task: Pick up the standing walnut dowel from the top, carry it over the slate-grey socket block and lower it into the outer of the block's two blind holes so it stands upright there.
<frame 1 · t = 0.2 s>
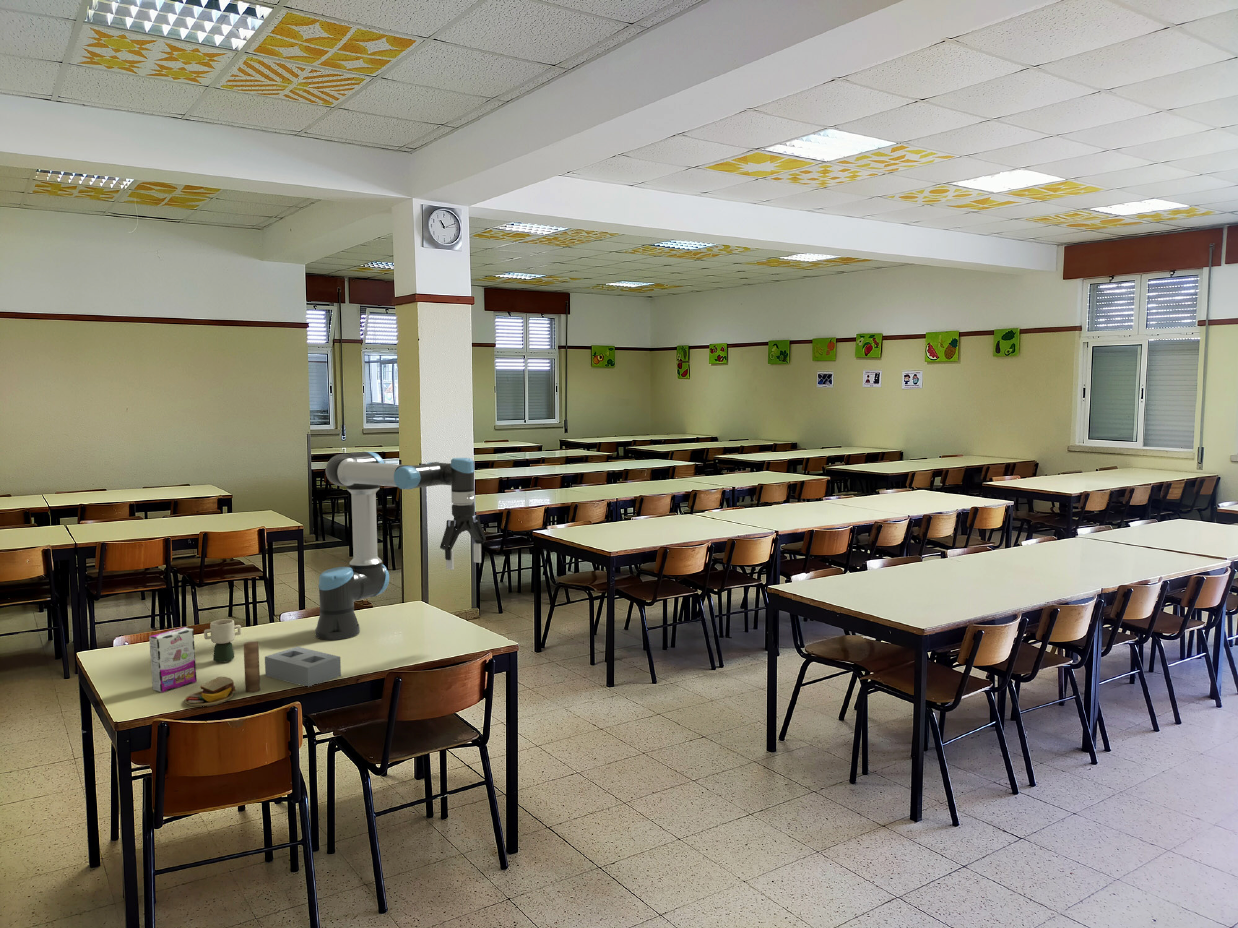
hand: (464, 565, 291), 28 cm above the table, tool pointing down, fingers open, 13 cm apart
cream green trophy cup: (224, 661, 278), on the table
socket block: (303, 675, 263), on the table
candy bar box: (174, 686, 254), on the table
walnut dowel: (252, 690, 251), on the table
toy sandwich meal: (210, 700, 244), on the table
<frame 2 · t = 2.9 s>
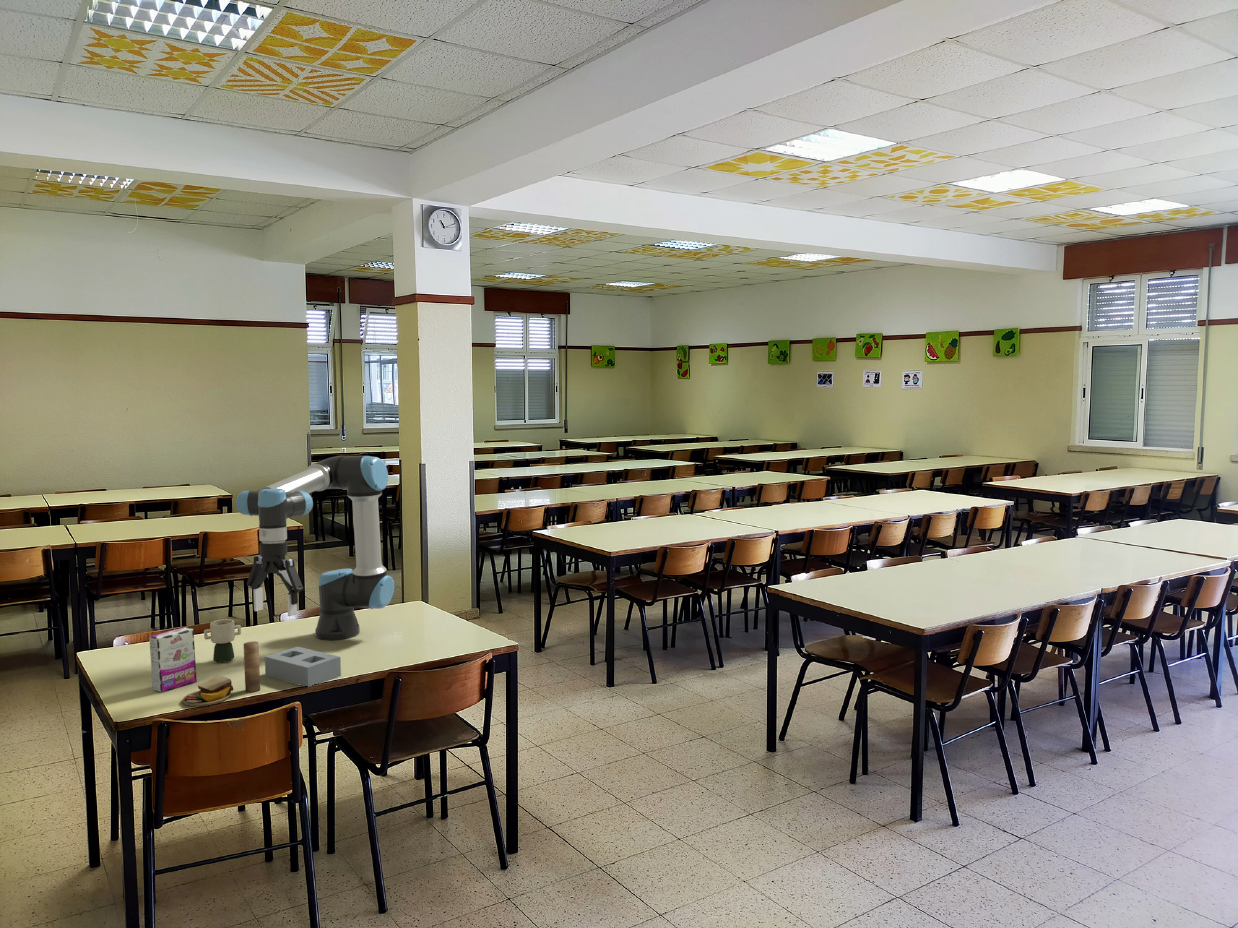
hand: (275, 612, 253), 22 cm above the table, tool pointing down, fingers open, 13 cm apart
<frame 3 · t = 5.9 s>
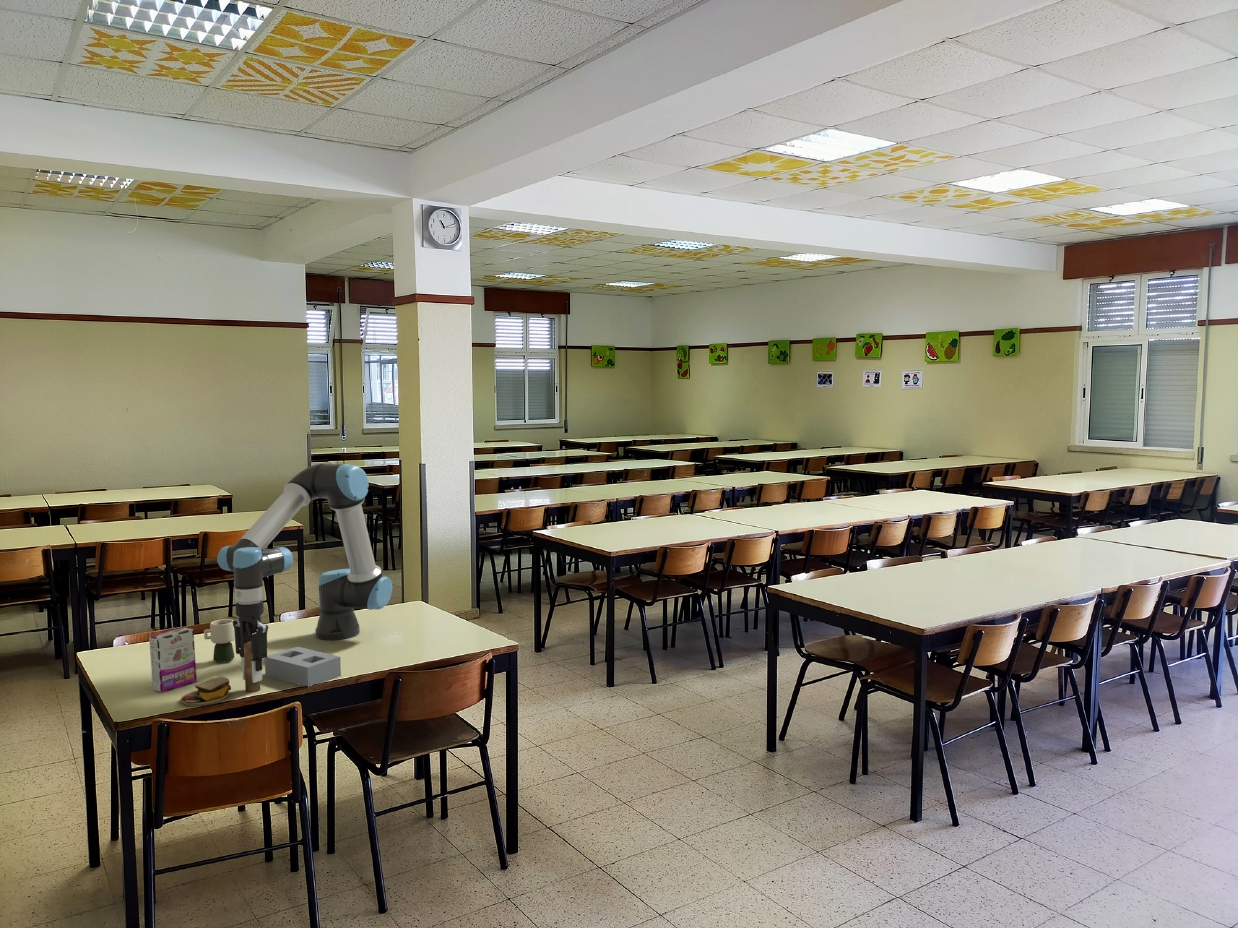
hand: (252, 679, 250), 3 cm above the table, tool pointing down, fingers closed on walnut dowel, 4 cm apart
walnut dowel: (253, 689, 251), on the table, touching gripper
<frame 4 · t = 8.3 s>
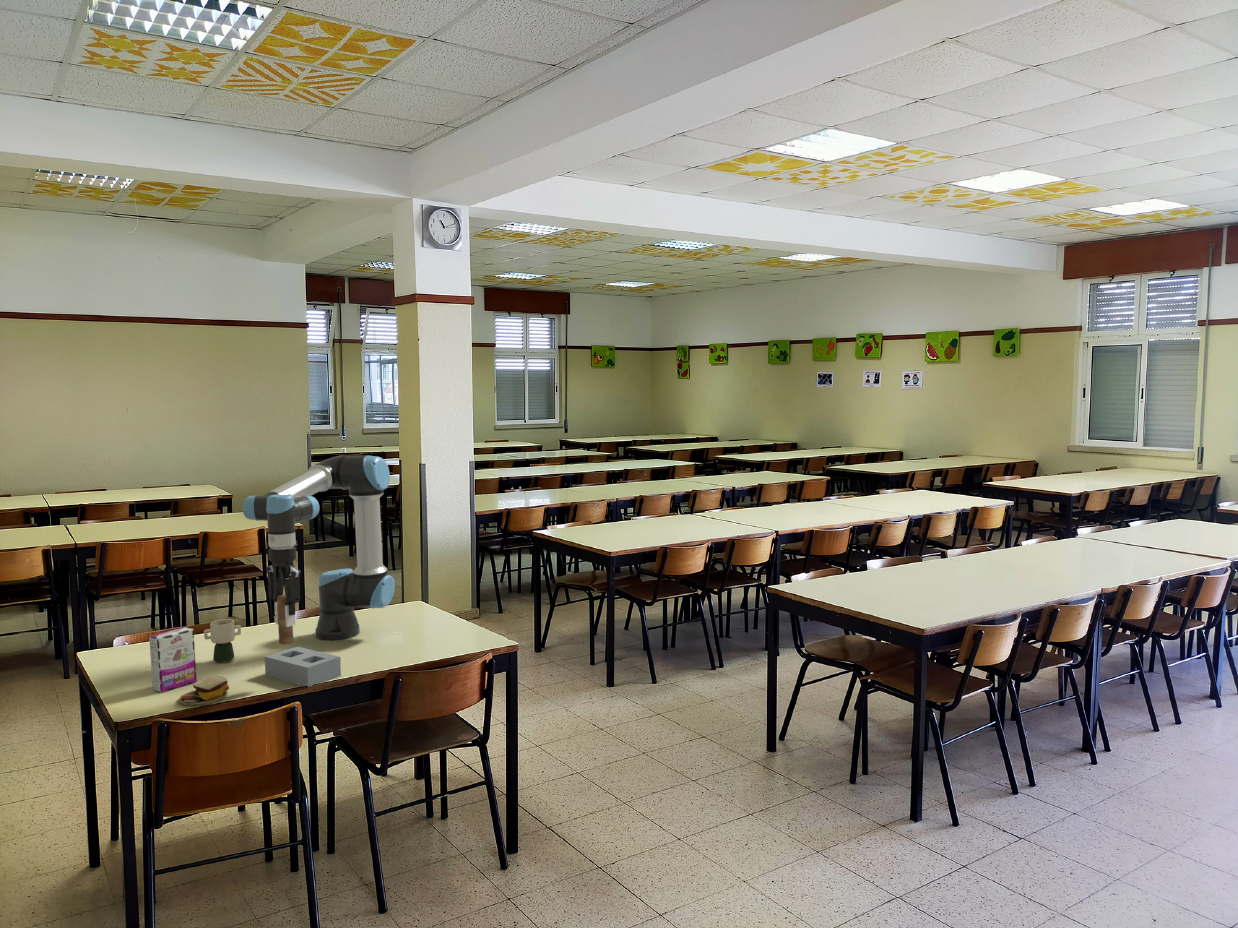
hand: (285, 624, 255), 18 cm above the table, tool pointing down, fingers closed on walnut dowel, 4 cm apart
walnut dowel: (286, 642, 255), point 13 cm above the table, touching gripper
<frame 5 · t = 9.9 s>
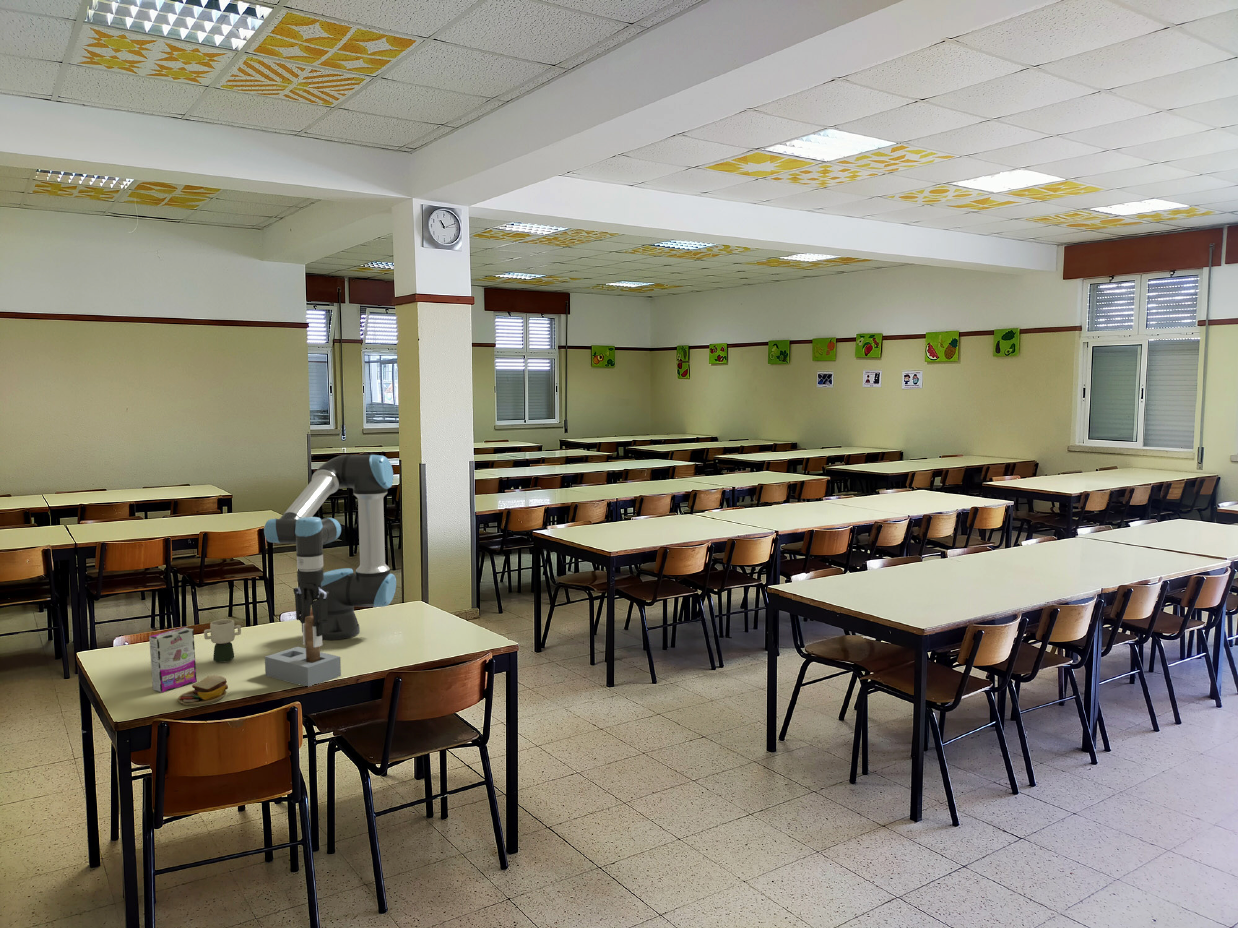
hand: (312, 644, 260), 11 cm above the table, tool pointing down, fingers closed on walnut dowel, 4 cm apart
walnut dowel: (313, 662, 260), point 5 cm above the table, touching gripper
when the fingers open (7 cm above the table, at t = 10.8 s): walnut dowel stays where it is, resting on socket block.
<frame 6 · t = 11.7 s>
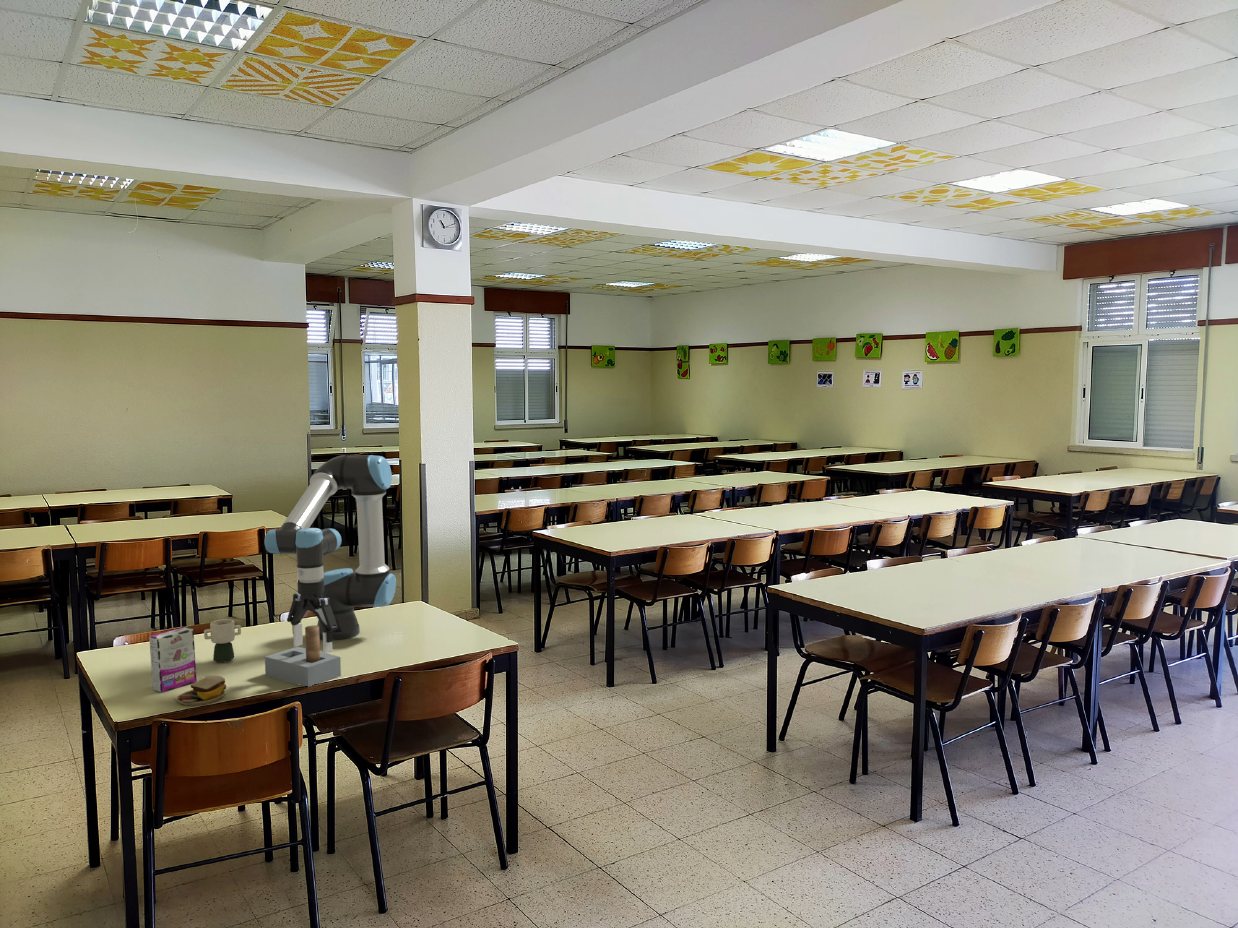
hand: (312, 648, 260), 9 cm above the table, tool pointing down, fingers open, 13 cm apart
walnut dowel: (313, 672, 260), point 2 cm above the table, touching socket block
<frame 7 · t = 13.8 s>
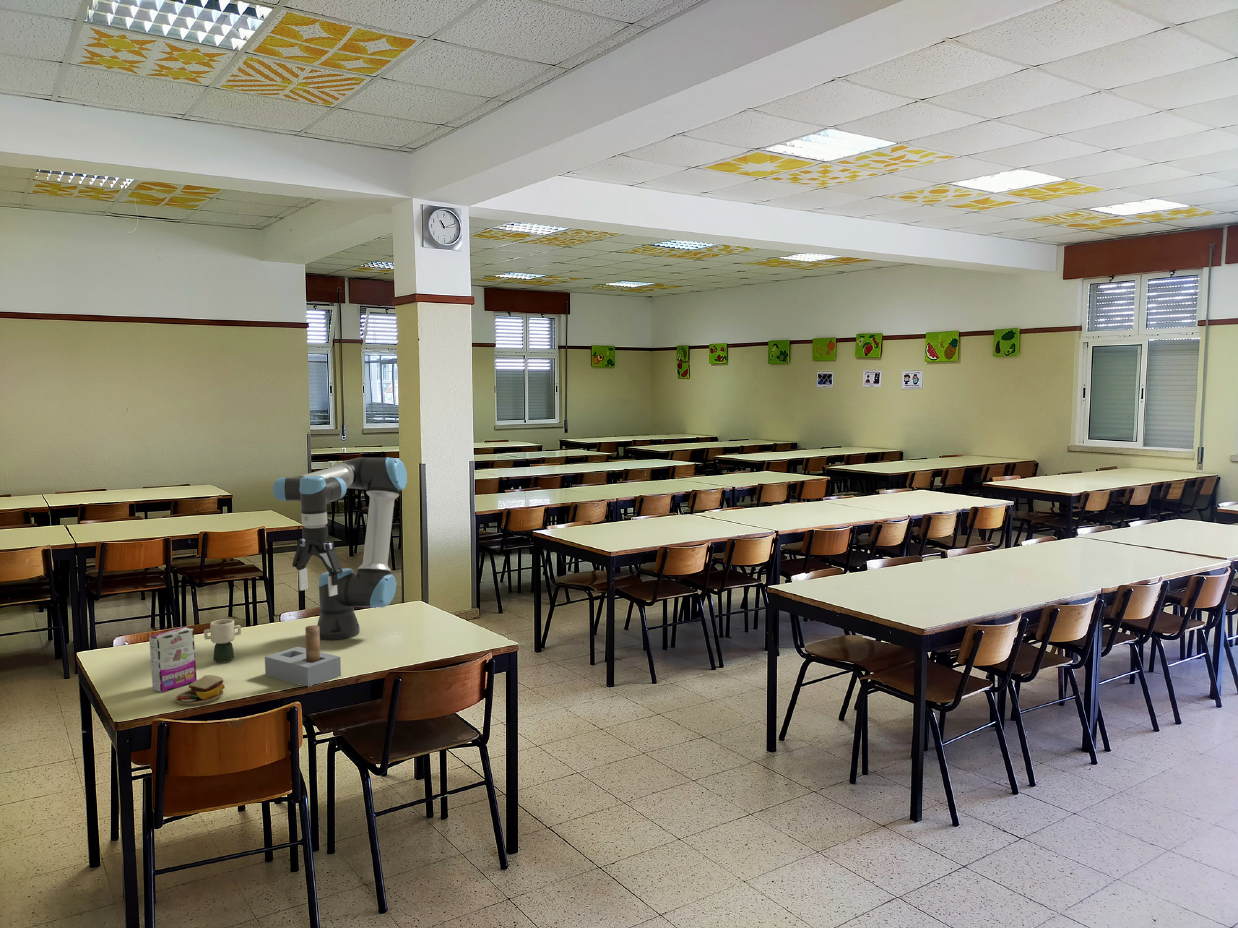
hand: (318, 592, 269), 24 cm above the table, tool pointing down, fingers open, 13 cm apart
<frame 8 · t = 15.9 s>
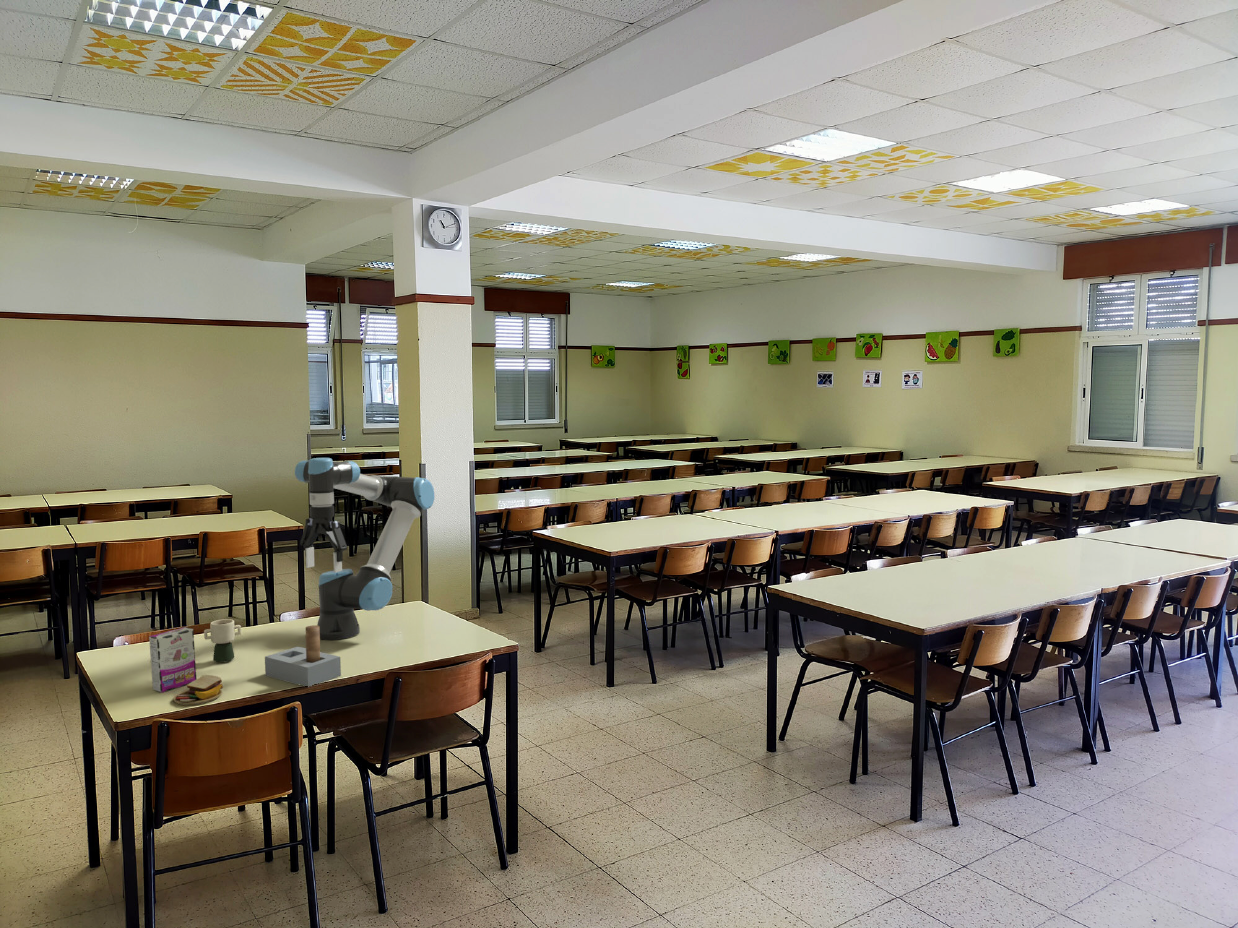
hand: (324, 569, 282), 29 cm above the table, tool pointing down, fingers open, 13 cm apart
at the end: walnut dowel 0.1 cm from the target spot on the socket block, point 2.0 cm above the socket block's base; walnut dowel tilted 1°; the gripper is holding nothing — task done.
